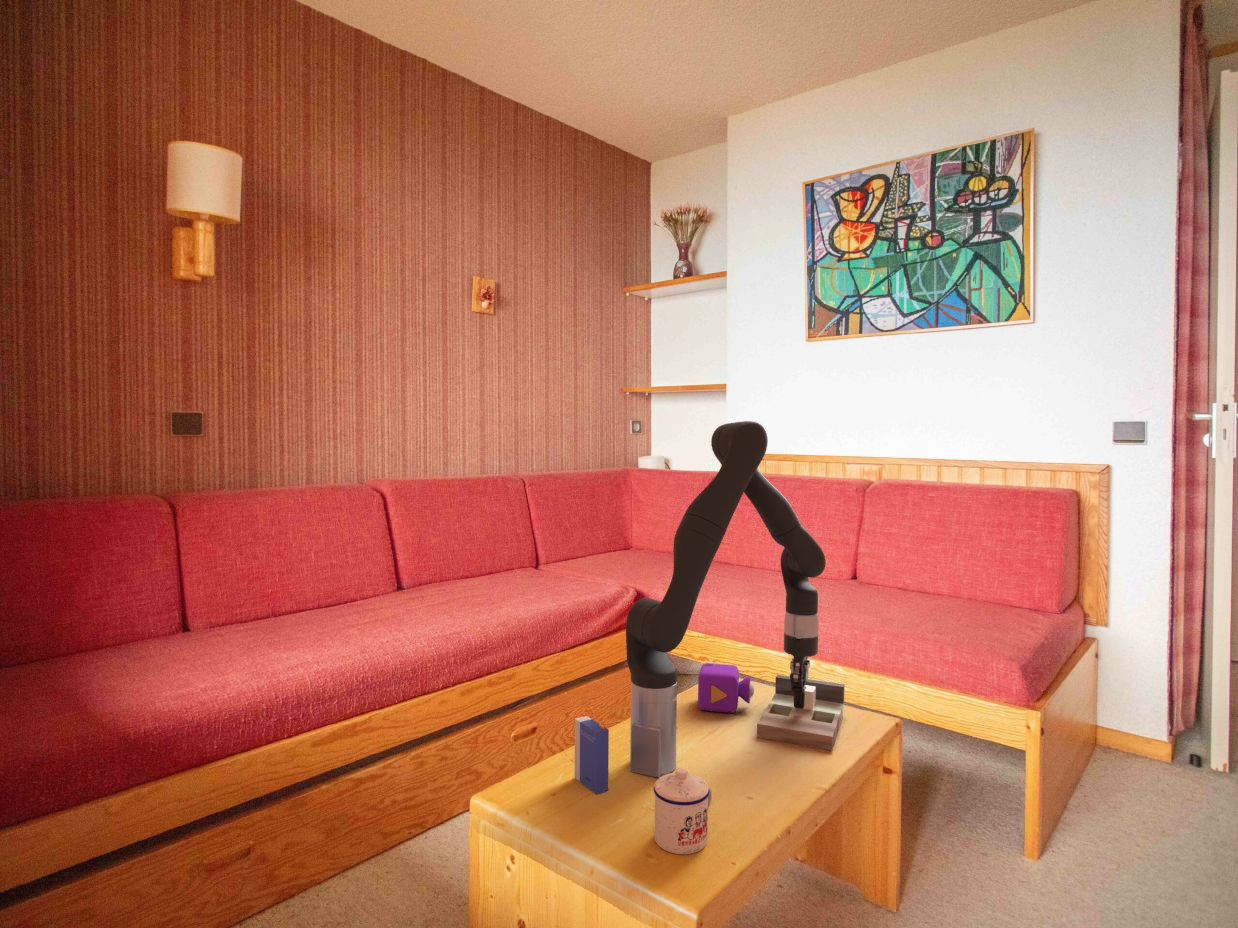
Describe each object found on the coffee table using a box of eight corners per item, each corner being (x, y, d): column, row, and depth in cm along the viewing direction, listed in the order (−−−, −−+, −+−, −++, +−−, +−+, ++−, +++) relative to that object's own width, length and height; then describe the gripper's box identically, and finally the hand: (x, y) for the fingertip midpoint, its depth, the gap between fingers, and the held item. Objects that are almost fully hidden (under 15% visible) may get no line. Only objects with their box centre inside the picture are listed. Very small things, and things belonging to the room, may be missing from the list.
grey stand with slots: (832, 750, 149) (832, 717, 148) (756, 736, 155) (757, 705, 155) (843, 712, 169) (844, 684, 169) (776, 702, 175) (777, 674, 175)
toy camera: (756, 715, 167) (757, 674, 166) (699, 715, 167) (699, 673, 167) (749, 698, 178) (750, 659, 177) (695, 697, 178) (695, 658, 178)
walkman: (608, 790, 131) (608, 727, 131) (595, 794, 130) (596, 730, 129) (586, 773, 138) (586, 713, 137) (574, 777, 136) (574, 716, 136)
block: (812, 709, 164) (813, 692, 163) (795, 706, 165) (795, 689, 165) (815, 703, 167) (815, 686, 167) (798, 700, 169) (798, 683, 169)
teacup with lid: (683, 863, 109) (683, 790, 109) (641, 838, 116) (642, 769, 115) (731, 833, 118) (732, 765, 117) (689, 812, 124) (690, 747, 124)
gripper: (789, 622, 167) (787, 694, 168) (778, 637, 155) (777, 714, 156) (821, 626, 164) (819, 700, 165) (814, 641, 152) (811, 720, 153)
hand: (799, 707), depth 160 cm, fingers closed
